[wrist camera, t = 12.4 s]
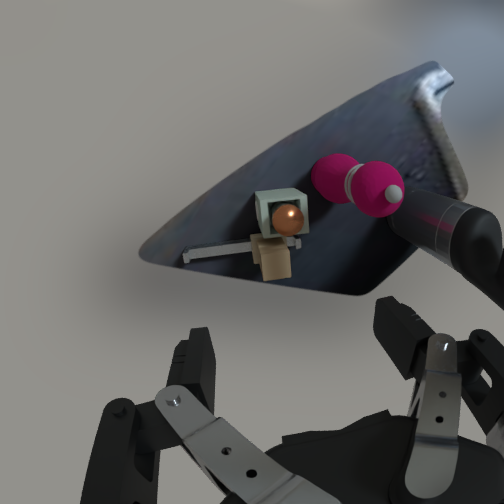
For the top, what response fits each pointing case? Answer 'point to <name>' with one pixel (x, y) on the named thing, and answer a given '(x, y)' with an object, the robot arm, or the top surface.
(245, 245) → the rail
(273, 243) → the carriage
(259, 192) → the cabinet
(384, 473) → the robot arm
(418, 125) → the top surface
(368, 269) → the top surface
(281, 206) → the plunger
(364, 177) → the pepper mill
